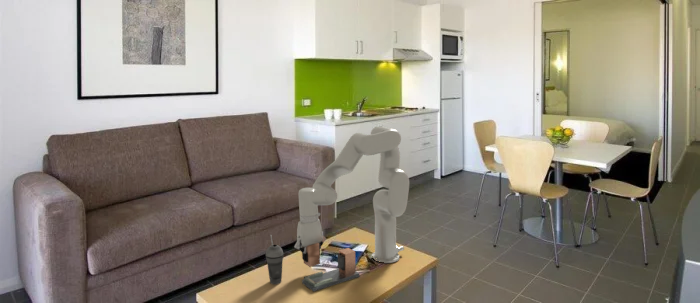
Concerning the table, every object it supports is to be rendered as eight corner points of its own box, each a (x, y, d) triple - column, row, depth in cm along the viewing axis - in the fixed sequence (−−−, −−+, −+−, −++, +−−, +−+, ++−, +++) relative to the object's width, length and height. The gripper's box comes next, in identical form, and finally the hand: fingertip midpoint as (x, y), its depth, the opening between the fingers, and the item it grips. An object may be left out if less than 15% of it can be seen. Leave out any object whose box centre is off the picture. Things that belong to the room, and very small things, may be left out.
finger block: (312, 259, 196) (311, 239, 195) (320, 263, 192) (318, 243, 190) (302, 262, 194) (301, 242, 192) (309, 267, 189) (308, 246, 187)
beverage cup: (281, 286, 182) (279, 238, 178) (263, 285, 183) (261, 237, 180) (287, 278, 189) (285, 232, 185) (270, 277, 190) (268, 231, 187)
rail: (346, 269, 197) (346, 246, 195) (359, 276, 190) (359, 252, 188) (302, 283, 184) (301, 258, 183) (313, 291, 177) (312, 266, 175)
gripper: (321, 211, 197) (324, 251, 200) (286, 220, 187) (289, 261, 190) (331, 215, 191) (333, 256, 194) (295, 224, 181) (298, 267, 184)
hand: (311, 258), depth 192 cm, fingers closed on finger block, 5 cm apart
